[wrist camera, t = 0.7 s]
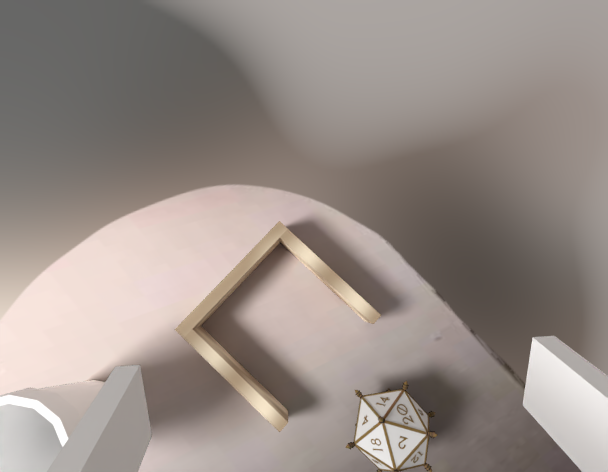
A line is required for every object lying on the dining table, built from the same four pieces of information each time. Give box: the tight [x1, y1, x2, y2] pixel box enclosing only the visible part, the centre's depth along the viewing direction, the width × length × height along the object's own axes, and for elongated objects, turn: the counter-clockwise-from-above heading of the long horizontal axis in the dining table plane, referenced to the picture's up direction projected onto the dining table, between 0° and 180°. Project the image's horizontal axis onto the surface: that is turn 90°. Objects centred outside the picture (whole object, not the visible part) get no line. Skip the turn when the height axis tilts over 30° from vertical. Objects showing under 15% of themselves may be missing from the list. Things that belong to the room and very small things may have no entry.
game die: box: [346, 381, 437, 472], centre depth 38 cm, size 9×8×10 cm
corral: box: [175, 221, 381, 432], centre depth 41 cm, size 14×15×4 cm
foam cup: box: [0, 380, 105, 472], centre depth 34 cm, size 10×9×13 cm
